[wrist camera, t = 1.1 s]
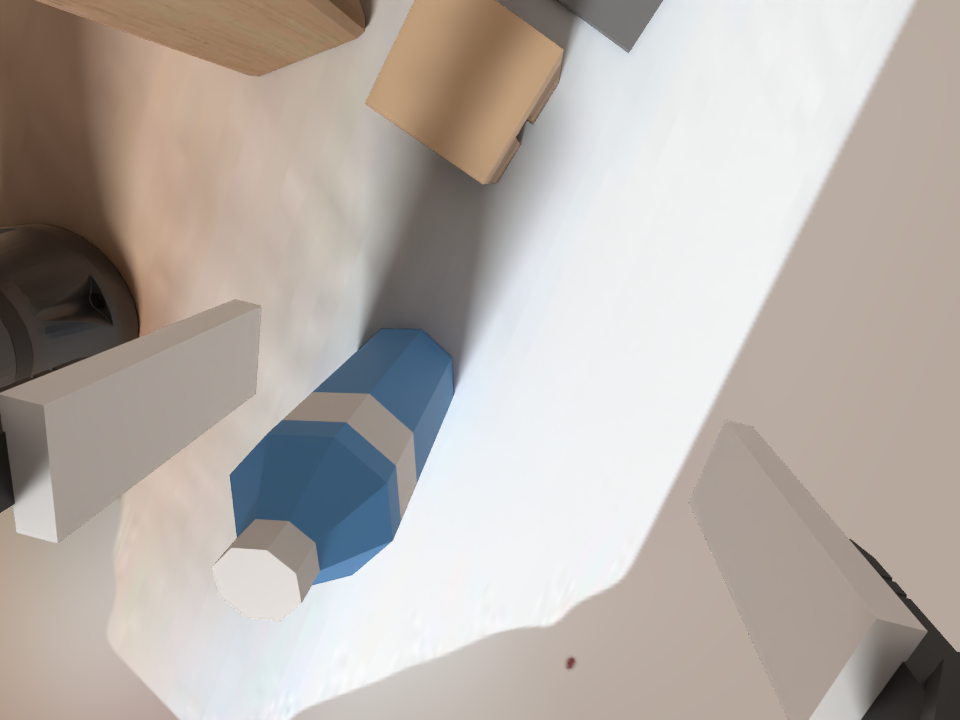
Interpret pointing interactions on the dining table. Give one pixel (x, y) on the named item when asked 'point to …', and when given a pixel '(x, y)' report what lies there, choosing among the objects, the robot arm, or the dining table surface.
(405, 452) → the water bottle
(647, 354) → the dining table surface
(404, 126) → the notched wood piece
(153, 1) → the wooden block
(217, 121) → the dining table surface
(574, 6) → the mat
